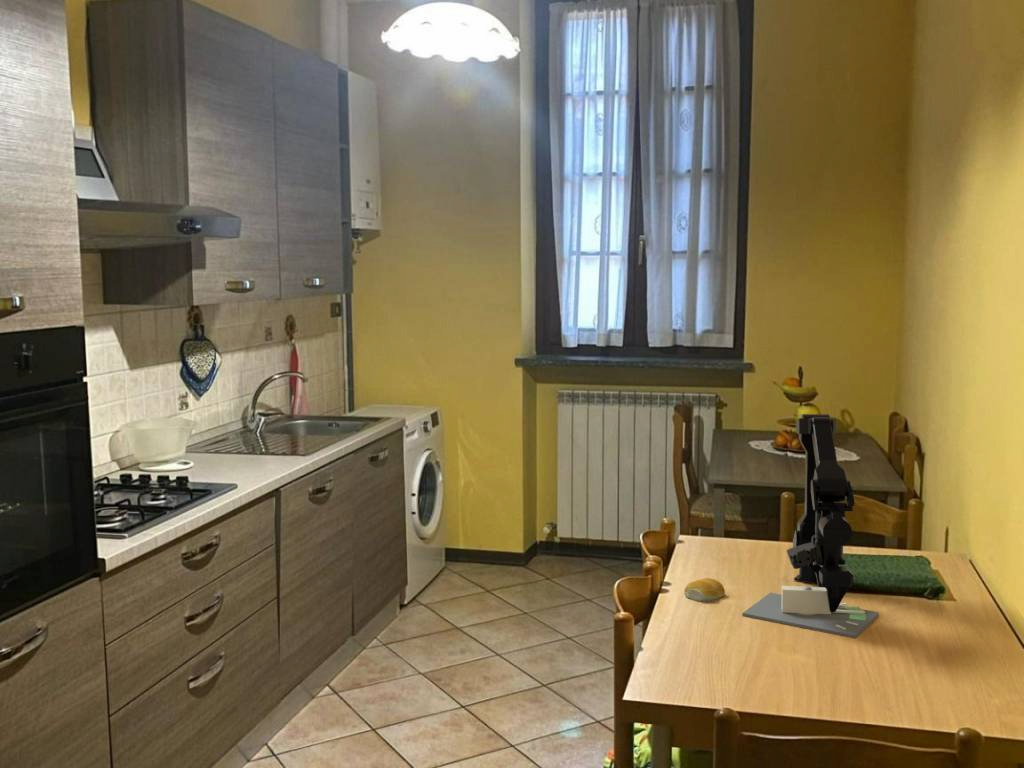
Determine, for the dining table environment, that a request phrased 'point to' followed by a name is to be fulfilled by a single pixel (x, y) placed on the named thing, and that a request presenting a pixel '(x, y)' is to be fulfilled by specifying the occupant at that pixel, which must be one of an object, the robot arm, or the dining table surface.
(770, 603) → the grey board
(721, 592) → the bread roll
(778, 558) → the dining table surface
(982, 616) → the dining table surface
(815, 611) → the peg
